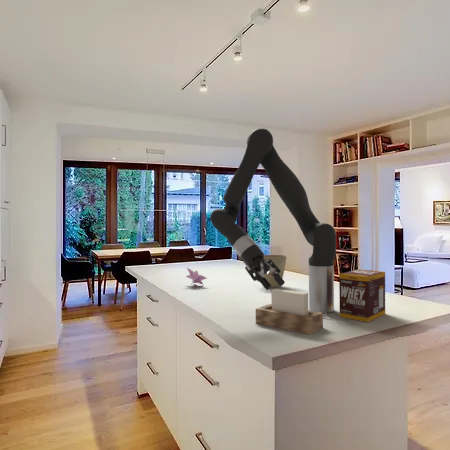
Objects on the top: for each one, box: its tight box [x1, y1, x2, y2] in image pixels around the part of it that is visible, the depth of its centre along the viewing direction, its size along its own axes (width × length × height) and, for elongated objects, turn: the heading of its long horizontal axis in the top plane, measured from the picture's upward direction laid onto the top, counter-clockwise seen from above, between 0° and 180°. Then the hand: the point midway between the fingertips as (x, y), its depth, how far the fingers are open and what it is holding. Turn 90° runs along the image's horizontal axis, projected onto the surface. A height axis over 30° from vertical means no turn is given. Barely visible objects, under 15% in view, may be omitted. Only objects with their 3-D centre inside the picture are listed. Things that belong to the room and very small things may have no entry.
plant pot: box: [264, 254, 287, 289], centre depth 187 cm, size 15×15×16 cm
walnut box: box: [255, 303, 324, 335], centre depth 118 cm, size 20×9×5 cm, turn 50°
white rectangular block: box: [271, 288, 309, 316], centre depth 118 cm, size 12×3×10 cm, turn 50°
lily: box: [185, 267, 207, 286], centre depth 190 cm, size 12×12×10 cm
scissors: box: [323, 313, 350, 328], centre depth 125 cm, size 11×1×20 cm
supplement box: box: [338, 268, 386, 323], centre depth 129 cm, size 10×15×16 cm
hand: (276, 286), depth 121 cm, fingers open, 8 cm apart
